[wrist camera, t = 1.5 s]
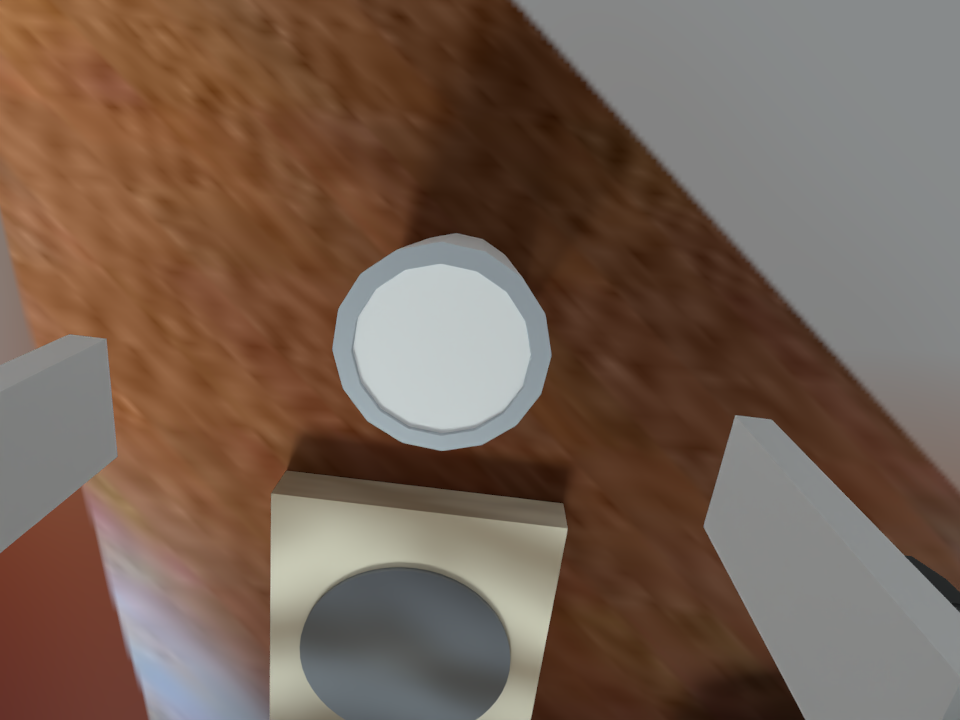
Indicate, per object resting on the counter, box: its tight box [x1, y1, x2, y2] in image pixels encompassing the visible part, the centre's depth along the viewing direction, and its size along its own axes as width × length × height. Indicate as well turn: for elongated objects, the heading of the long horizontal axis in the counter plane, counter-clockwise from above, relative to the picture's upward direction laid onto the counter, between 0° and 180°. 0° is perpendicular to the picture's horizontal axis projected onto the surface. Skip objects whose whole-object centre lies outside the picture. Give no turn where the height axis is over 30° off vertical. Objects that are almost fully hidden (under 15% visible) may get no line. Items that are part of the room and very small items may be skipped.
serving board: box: [270, 471, 568, 720], centre depth 30 cm, size 16×13×2 cm
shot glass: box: [332, 233, 552, 451], centre depth 22 cm, size 7×7×7 cm
